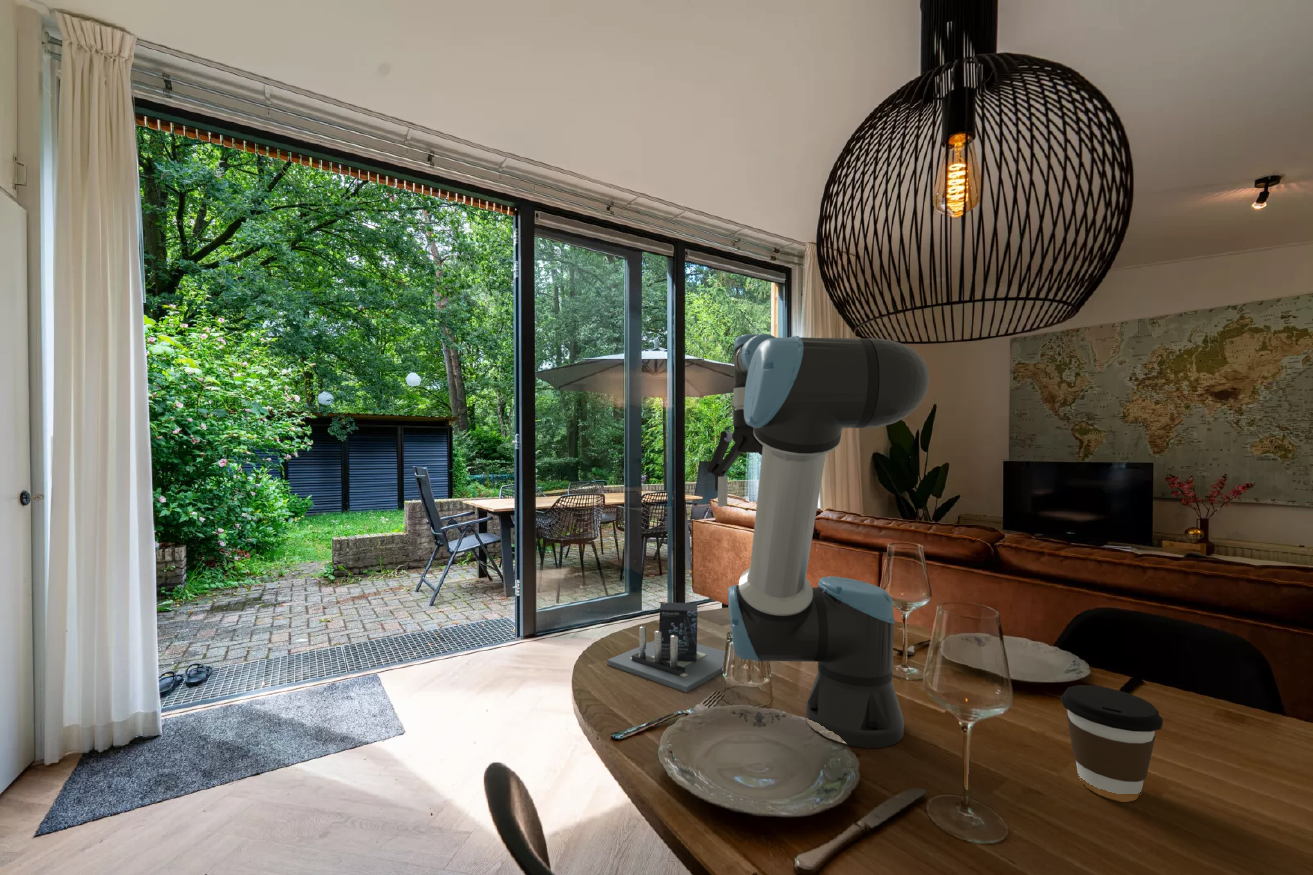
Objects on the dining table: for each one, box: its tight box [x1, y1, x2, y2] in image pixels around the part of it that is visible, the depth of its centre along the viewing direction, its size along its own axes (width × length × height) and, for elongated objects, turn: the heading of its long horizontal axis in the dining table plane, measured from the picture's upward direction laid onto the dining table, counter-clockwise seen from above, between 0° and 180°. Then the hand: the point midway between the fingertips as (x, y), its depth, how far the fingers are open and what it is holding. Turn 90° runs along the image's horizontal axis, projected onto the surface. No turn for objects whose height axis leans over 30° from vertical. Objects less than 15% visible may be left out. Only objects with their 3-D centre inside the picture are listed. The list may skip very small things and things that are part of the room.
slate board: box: [606, 639, 726, 693], centre depth 122 cm, size 20×20×1 cm
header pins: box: [632, 625, 685, 676], centre depth 117 cm, size 12×2×7 cm, turn 51°
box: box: [658, 601, 698, 662], centre depth 122 cm, size 8×6×11 cm
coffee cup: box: [1060, 684, 1164, 794], centre depth 79 cm, size 11×11×12 cm
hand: (749, 509), depth 125 cm, fingers open, 13 cm apart
